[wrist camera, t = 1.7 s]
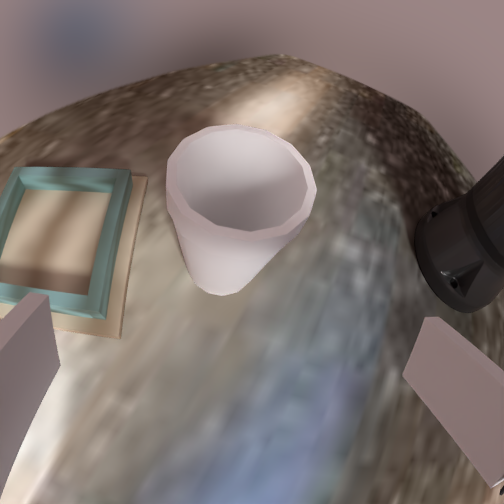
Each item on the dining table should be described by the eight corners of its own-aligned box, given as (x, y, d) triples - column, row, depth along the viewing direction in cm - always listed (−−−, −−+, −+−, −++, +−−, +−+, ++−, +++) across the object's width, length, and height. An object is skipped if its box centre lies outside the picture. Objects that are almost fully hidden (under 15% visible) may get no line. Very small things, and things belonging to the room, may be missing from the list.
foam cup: (196, 209, 33) (206, 109, 22) (279, 242, 33) (326, 154, 22) (154, 288, 28) (137, 203, 17) (249, 327, 28) (293, 266, 17)
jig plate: (147, 182, 33) (145, 160, 30) (120, 339, 26) (112, 329, 22) (20, 177, 31) (10, 158, 28) (-25, 311, 23) (-43, 300, 20)
